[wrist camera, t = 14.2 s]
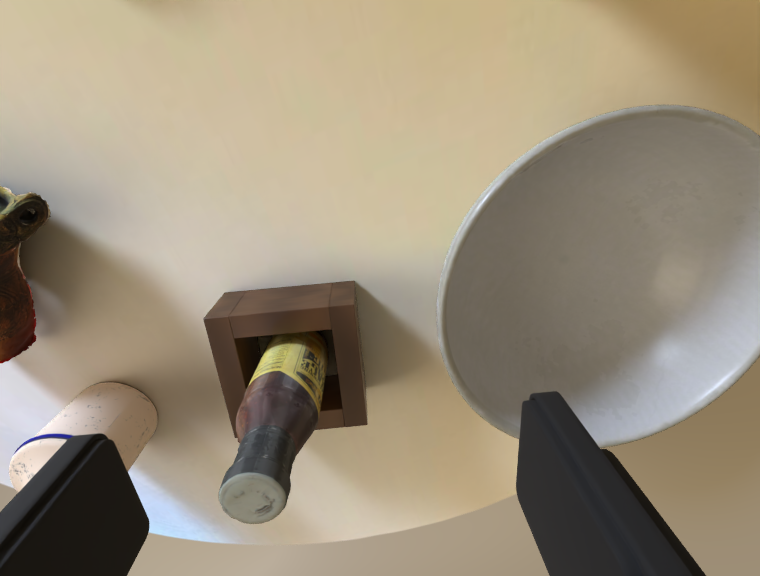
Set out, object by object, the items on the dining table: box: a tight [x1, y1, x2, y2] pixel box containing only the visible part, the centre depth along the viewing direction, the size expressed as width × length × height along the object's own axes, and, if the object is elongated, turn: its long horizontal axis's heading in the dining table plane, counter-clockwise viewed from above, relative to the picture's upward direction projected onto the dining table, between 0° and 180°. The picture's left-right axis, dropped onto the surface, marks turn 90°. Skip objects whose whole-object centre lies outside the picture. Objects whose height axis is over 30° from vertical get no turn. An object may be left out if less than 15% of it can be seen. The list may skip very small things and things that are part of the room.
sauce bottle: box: [219, 331, 328, 524], centre depth 33 cm, size 7×6×20 cm
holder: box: [204, 281, 367, 438], centre depth 39 cm, size 13×13×6 cm
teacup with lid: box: [9, 382, 158, 492], centre depth 39 cm, size 12×9×12 cm
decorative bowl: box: [437, 105, 760, 448], centre depth 34 cm, size 27×27×12 cm
